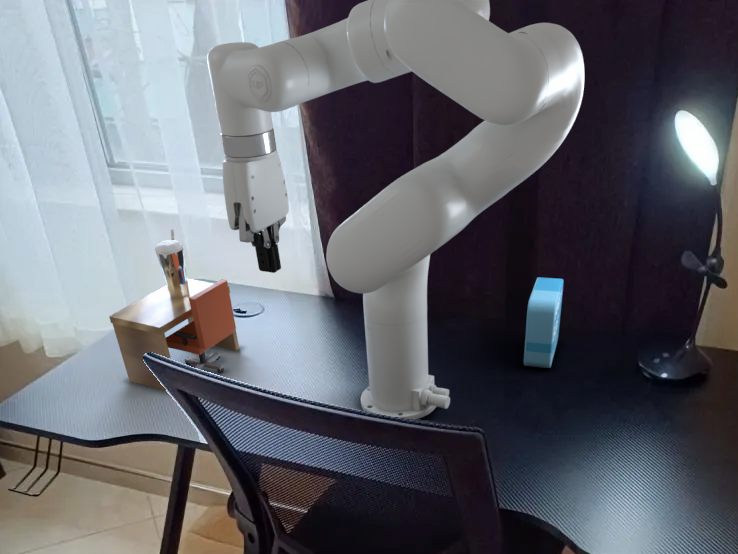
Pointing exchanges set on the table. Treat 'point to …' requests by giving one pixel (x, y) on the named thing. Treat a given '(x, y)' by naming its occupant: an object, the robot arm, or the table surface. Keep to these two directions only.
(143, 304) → the desk
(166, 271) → the milkshake
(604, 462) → the table surface
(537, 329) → the data package
